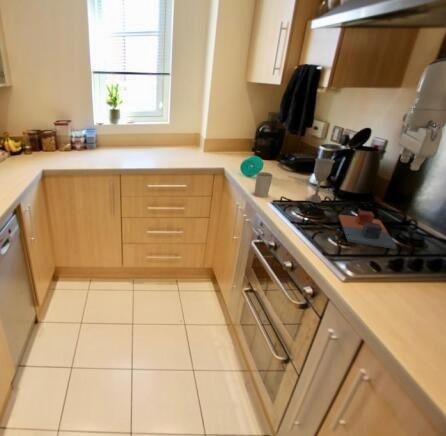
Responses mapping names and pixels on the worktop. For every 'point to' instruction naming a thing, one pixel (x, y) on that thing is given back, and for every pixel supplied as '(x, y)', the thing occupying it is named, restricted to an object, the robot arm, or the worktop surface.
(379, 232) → the slate block
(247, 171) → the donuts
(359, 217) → the terracotta block
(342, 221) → the board
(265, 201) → the worktop surface
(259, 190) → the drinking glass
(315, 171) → the chalice
